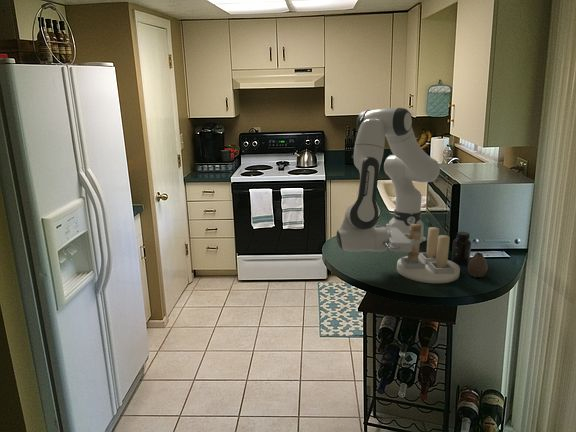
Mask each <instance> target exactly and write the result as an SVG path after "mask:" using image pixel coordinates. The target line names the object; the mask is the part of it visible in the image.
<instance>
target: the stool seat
mask: <svg viewBox="0 0 576 432" xmlns="http://www.w3.org/2000/svg"><path fill="white" fill-rule="evenodd" d="M427 231H428V232H427V239H426V252H419V257H418V260H410V259H408V258H407V257H408V255H407V256H406V255H405V256H403V257H400V258H399V259H398V260H397V263H396V272H397V273H398V274H400V276H403V278H406V279H410V280H411V281H416V282H420V283H427V284H446V283H447V284H448V283H451V282H454V281H457V280H458V279H459V277H460V273H461V268H460V265H459V264H456V263H454V262H452V260H449V259H448V258H449V252H450V250H449V249H450V242H451V241H450V240H451V239H450V236H449V235H445V234H440V228H438V227H436V226H431V227H428V230H427Z"/></svg>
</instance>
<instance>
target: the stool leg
mask: <svg viewBox="0 0 576 432" xmlns="http://www.w3.org/2000/svg"><path fill="white" fill-rule="evenodd" d="M420 234H421V225H419V224H410V233H409V239H411V240H413V239H419V240H420ZM420 244H421V243H420ZM420 244H417V245H412V252H407V256H408V257H407V258H408V259H410V260H418V257H419V253H420V246H421V245H420Z"/></svg>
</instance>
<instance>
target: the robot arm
mask: <svg viewBox="0 0 576 432" xmlns="http://www.w3.org/2000/svg"><path fill="white" fill-rule="evenodd" d="M356 130H357V134H356V138H355V141H354V149H353V164H354V166H355V167H356V169H357V170H358V172H359V184H358V185H359V186H358V192H357V199H356V200H355V202H354V203H353V204H350V206H348V207H347V209H346V210H345V213H344V218H343V220H342V223H341V224H340V227H339V228H337V230H336V240H337V244H338V247H339V248H340V249H341V250H342V251H345V252H357V253H358V252H360V253H361V252H366V251H367V252H368V251H369V252H386V251H387V249H389V250H390V251H391V252H394V253H408V252H412V245H417V244H421V243H423V242H425V241H426V242H427V238H426V237H425V236H424V222H423V221H422V210H421V208H422V199H423V198H422V197H423V196H422V193H421V191H419V190H418V189H417V188H416V187H415V185H414V183H413V182H418V183H432V182H434V181H436V180H437V178H439V175H440V173H441V168H440V164H439V162H438V161H437V160H436V159H435V158H433V157H431V156H430V155H429V154H428V153H427V152H426V151H425V150H424V149H423V148H422V147H421V146H420V144H419V142H418V140H417V138H416V136H415V131H414V129H413V118H412V114H411V112H410V111H409V110H408V109H407V108H403V107H396V108H395V107H382V108H376V109H366V110H363V111H361V112H360V113H359V114H358V116H357V118H356ZM386 141H387V143H388V146H389V148H390V152H391V153H392V154H389V155H388V156H387V157H386V158H385V161H384V163H383V170H384V173H385V174H386V176H388V177H389V179H390V180H391V183H392V184H393V188H394V190H395V208H394V210H393V215H392V216H393V217H392V218H391V219H390V220H389V222H388V223H386V224H385V226H381V225H378V224H377V223H378V221H379V215H380V212H379V208H378V204H377V191H378V182H379V173H380V168H381V165H382V161H383V158H384V151H385V145H386V143H385V142H386ZM376 224H377V225H376ZM410 224H419V225H421V234H420V240H419V239H413V240H411V239H409V233H410Z"/></svg>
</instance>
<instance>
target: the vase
mask: <svg viewBox="0 0 576 432" xmlns="http://www.w3.org/2000/svg"><path fill="white" fill-rule="evenodd" d="M488 266H489V265H488V261H487V260H486V258H485V257H484V255H483V253H481V252H475V254H474V255H473V256H472V257H470V260H469V263H468V264H467V272H468V274H469V275H470V276H471V277H472V276H473V278H476V277H481V278H483V277H484V276H486V274H487V272H488Z"/></svg>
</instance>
